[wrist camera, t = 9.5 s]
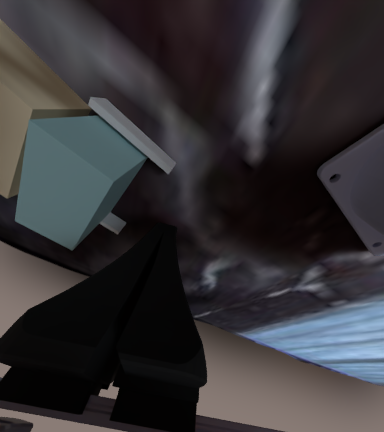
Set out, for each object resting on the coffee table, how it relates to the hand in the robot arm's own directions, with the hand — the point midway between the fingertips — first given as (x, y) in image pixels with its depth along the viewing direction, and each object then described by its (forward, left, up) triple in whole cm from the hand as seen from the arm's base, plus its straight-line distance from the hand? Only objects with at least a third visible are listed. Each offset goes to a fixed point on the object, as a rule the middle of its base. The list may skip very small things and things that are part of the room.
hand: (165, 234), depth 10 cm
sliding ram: (+5, 0, -2) cm, 6 cm away
